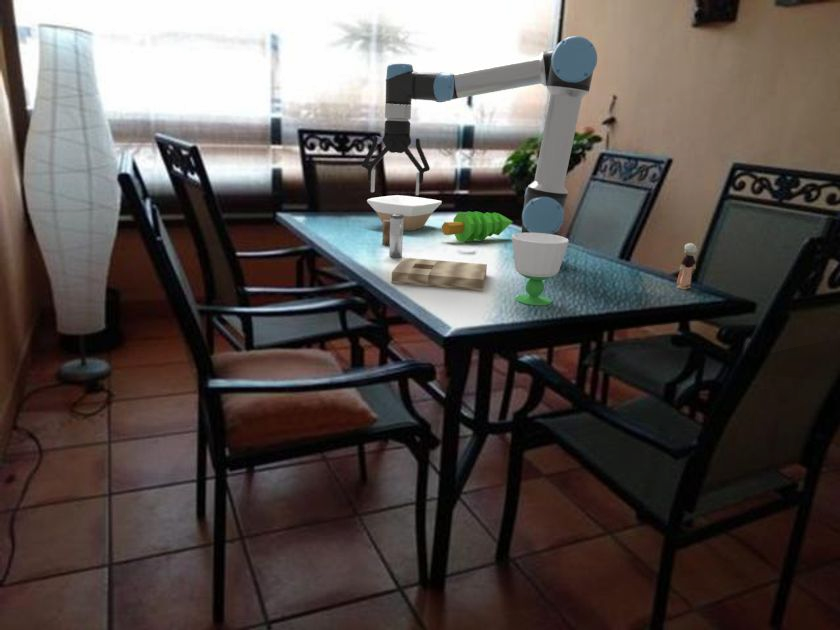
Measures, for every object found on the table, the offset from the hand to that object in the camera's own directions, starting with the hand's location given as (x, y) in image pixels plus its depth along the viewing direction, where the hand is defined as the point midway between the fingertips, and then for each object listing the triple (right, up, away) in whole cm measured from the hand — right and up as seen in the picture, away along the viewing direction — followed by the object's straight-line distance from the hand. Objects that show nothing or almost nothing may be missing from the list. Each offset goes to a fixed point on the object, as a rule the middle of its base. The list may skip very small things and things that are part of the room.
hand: (394, 193), depth 192 cm
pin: (0, -19, +6) cm, 20 cm away
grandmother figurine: (+81, -29, -14) cm, 88 cm away
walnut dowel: (-3, -13, +24) cm, 27 cm away
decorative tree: (+29, -10, +39) cm, 50 cm away
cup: (+36, -33, -34) cm, 60 cm away
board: (+13, -27, -18) cm, 35 cm away
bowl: (+1, -2, +58) cm, 58 cm away
